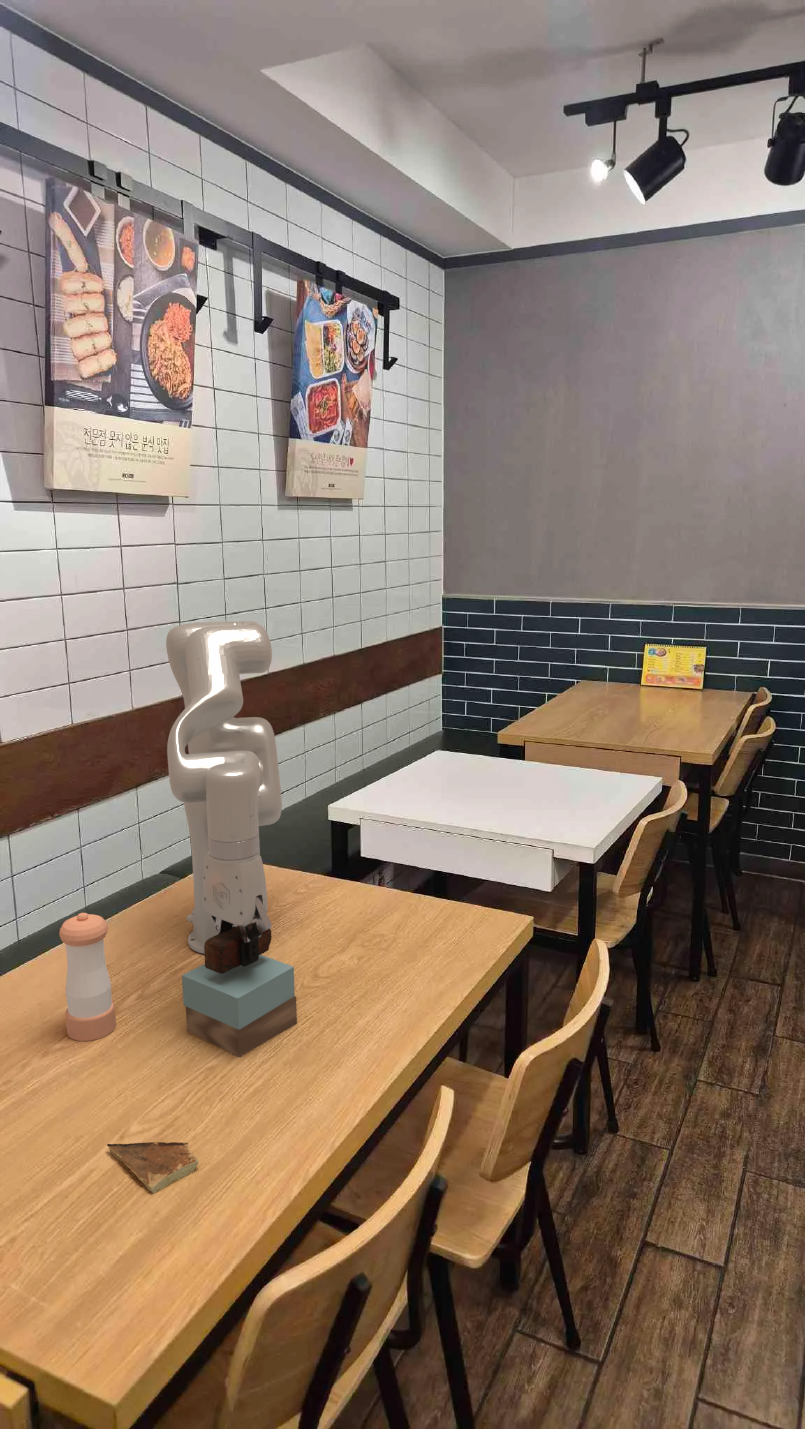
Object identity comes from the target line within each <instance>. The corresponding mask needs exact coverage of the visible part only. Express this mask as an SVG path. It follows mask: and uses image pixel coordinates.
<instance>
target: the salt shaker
mask: <svg viewBox="0 0 805 1429" xmlns="http://www.w3.org/2000/svg"><path fill="white" fill-rule="evenodd" d="M108 930H109V927H108V924H107V921H106V920H105V919H104V917H102V916H101V915H97V914H93V913H92V914H89V913H87V912H80V913H78V915H75V916H73V917H70V918H68V919H66V920H65V921H64V922H63V923H62V925H61V927H60V928H59V933H58V934H59V937H60V940H61V941H62V943H63V944H65V951H66V963H67V971H66V979H65V980H66V981H65V982H66V983H65V995H66V996H65V997H66V1005H67V1008H66V1010H65V1014H64V1015H65V1022H66V1024H65V1025H66V1033H67V1037H69V1038H70V1039H72V1040H74V1041H79V1042H88V1041H89V1042H90V1041H94V1040H98V1039H101V1038H104V1037H106V1036H108V1035H109V1034H111V1033H113V1031H114V1030H115V1029H116V1026H117V1021H116V1020H117V1019H116V1007H115V1002H114V1001H113V1000H112V998H113V997H112V983H111V979H110V975H109V972H108V968H107V964H106V954H105V945H104V944H105V943H104V938H106V936H107V934H108Z"/></svg>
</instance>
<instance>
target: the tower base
mask: <svg viewBox="0 0 805 1429" xmlns="http://www.w3.org/2000/svg"><path fill="white" fill-rule="evenodd" d="M297 1014H298V1010H297V996H294V997H293V998H291V999H289V1000H288V1001H286V1002H284V1003H283V1004H281V1005H279V1006H278V1007H276V1008H274V1009H273V1010H271V1011H269V1012H268V1013H266V1014H264V1015H263V1016H261V1017H260V1018H258V1019H256V1020H255V1021H253V1022H251V1023H250V1024H248V1025H246V1026H245V1027H243V1028H241V1029H240V1030H238V1029H236V1028H234V1027H232V1026H229V1025H227V1024H225V1023H222V1022H220V1021H218V1020H216V1019H213V1018H211V1017H209V1016H207V1015H204V1014H202V1013H200V1012H198V1011H195V1010H193V1009H191V1008H189V1007H186V1006H185V1019H186V1020H185V1021H186V1031H187V1032H189V1033H190V1034H193V1035H195V1036H197V1037H198V1038H200V1039H202V1040H204V1041H206V1042H209V1043H210V1044H212V1045H214V1046H216V1047H217V1048H220V1049H222V1050H224V1051H225V1052H227V1053H229V1054H231V1055H232V1056H233V1055H234V1056H236V1057H237V1058H241V1057H243V1056H244V1055H247V1054H248V1053H249V1052H251V1051H253V1050H255V1049H256V1048H258V1047H260V1046H262V1045H264V1044H265V1043H267V1042H268V1041H270V1040H271V1039H273V1038H275V1037H277V1036H279V1035H280V1034H281V1033H284V1032H285V1031H287V1030H288V1029H291V1028H292V1027H294V1026H295V1025H297V1024H298V1017H297V1016H298V1015H297Z"/></svg>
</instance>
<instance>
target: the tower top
mask: <svg viewBox="0 0 805 1429" xmlns="http://www.w3.org/2000/svg"><path fill="white" fill-rule="evenodd" d="M181 984H182V999H183V1000H182V1003H183V1004H182V1005H183V1006H185V1008H186V1007H189V1008H191V1009H193V1010H195V1011H198V1012H200V1013H202V1014H204V1015H207V1016H209V1017H211V1018H213V1019H216V1020H218V1021H220V1022H222V1023H225V1024H227V1025H229V1026H232V1027H234V1028H236V1029H238V1030H240V1029H241V1028H243V1027H245V1026H246V1025H248V1024H250V1023H251V1022H253V1021H255V1020H256V1019H258V1018H260V1017H261V1016H263V1015H264V1014H266V1013H268V1012H269V1011H271V1010H273V1009H274V1008H276V1007H278V1006H279V1005H281V1004H283V1003H284V1002H286V1001H288V1000H289V999H291V998H293V997H294V996H295V992H296V991H295V966H293V965H290V964H288V963H284V962H281V961H279V960H277V959H274V958H272V957H268V956H266V955H263V954H261V955H259V959H258V960H257V961H256V962H254V963H252V964H249V965H247V966H245V967H243V966H241V965H240V966H238V967H236V968H233V969H231V970H229V971H227V972H226V973H223V974H220V973H217V972H215V971H213V970H210V969H207V968H206V967H205V963H204V964H201V965H200V966H197V967H196V968H193V969H192V970H189V971H187V972H185V973H184V974H182V975H181Z"/></svg>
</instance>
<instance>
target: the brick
mask: <svg viewBox="0 0 805 1429" xmlns="http://www.w3.org/2000/svg"><path fill="white" fill-rule="evenodd" d="M251 929H252V924H250V925H248V930H249V931H250V930H251ZM272 936H273V935H272V929H271V928H270V929H268V930H266V931H264V932H263V933H262V934H261V937H259V938H258V949H259V955H263V954H264V953H267V952H268V951H269V950H270V945H271V943H272V942H271V941H272V938H273V937H272ZM241 941H243V940H242V935H241V929H240V926H236V927H234V928H231V929H230V930H228V931H225V932H223V933H220V934H218V935H215V936H213V937H211V938H209V939H208V940H206V941H205V945H204V954H203V955H204V964H205V967H206V968H207V969H210V970H213V971H215V972H217V973H220V974H223V973H226V972H227V971H229V970H231V969H233V968H236V967H238V966H240V965H241V964H240V942H241Z"/></svg>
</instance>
